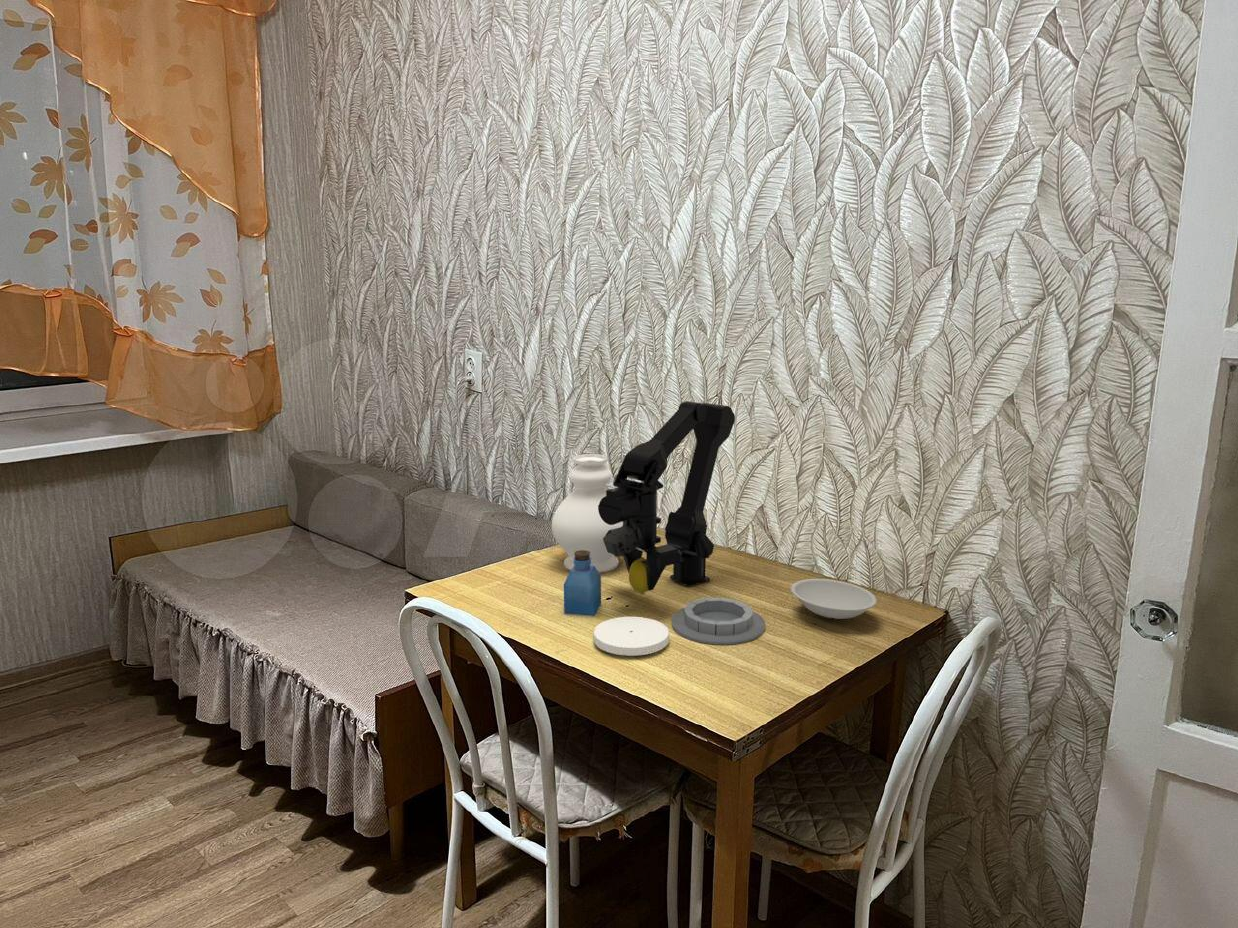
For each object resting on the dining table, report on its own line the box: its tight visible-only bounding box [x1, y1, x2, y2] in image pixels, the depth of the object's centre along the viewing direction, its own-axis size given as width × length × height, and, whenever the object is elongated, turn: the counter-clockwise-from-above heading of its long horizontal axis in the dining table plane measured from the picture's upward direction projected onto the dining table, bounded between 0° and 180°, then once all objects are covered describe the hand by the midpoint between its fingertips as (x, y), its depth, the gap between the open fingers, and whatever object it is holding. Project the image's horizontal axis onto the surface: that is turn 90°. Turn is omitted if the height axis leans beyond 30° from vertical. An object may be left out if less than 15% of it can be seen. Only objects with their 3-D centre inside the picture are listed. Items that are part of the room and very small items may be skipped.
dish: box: [790, 578, 878, 620], centre depth 187 cm, size 18×14×5 cm
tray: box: [671, 597, 766, 646], centre depth 184 cm, size 18×18×3 cm
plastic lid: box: [593, 616, 670, 657], centre depth 176 cm, size 14×14×2 cm
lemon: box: [628, 556, 649, 595], centre depth 194 cm, size 6×6×8 cm
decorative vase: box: [551, 453, 623, 574], centre depth 215 cm, size 18×18×25 cm
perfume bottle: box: [563, 550, 602, 617], centre depth 191 cm, size 6×6×12 cm
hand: (642, 585), depth 195 cm, fingers closed on lemon, 5 cm apart
